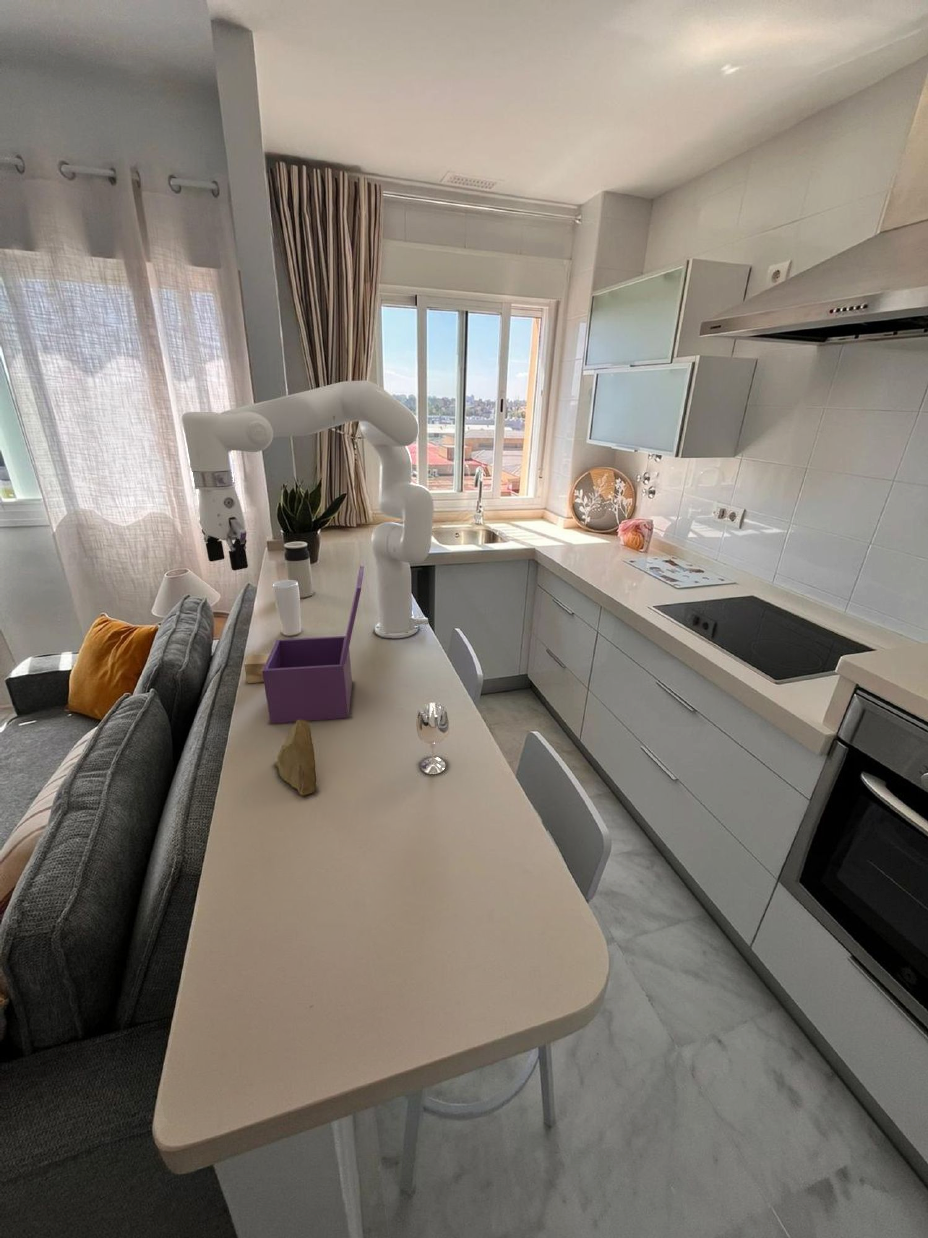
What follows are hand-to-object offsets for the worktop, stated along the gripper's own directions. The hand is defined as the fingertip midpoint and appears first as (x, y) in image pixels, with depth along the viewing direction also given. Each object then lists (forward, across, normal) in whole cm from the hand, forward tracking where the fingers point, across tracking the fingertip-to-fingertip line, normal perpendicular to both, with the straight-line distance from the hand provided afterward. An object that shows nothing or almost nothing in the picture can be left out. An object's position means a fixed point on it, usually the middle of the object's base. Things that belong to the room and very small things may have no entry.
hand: (228, 564), depth 103 cm
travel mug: (+29, +46, -45) cm, 70 cm away
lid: (+9, -23, -13) cm, 28 cm away
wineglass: (+30, -51, -7) cm, 60 cm away
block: (+30, +2, -4) cm, 30 cm away
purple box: (+30, -17, -6) cm, 34 cm away
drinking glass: (+30, +20, -24) cm, 43 cm away
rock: (+30, -35, +11) cm, 47 cm away
